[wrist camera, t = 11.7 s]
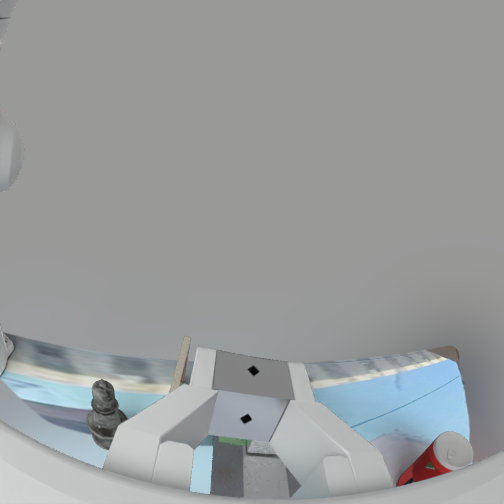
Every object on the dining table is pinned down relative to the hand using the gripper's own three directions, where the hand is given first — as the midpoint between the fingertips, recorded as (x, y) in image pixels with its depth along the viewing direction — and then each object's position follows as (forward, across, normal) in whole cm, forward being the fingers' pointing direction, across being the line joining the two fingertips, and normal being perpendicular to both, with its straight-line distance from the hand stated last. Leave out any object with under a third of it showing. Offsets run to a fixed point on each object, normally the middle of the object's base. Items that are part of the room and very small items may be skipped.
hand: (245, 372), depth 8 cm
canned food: (+9, -35, +32) cm, 48 cm away
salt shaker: (+16, +12, +32) cm, 38 cm away
